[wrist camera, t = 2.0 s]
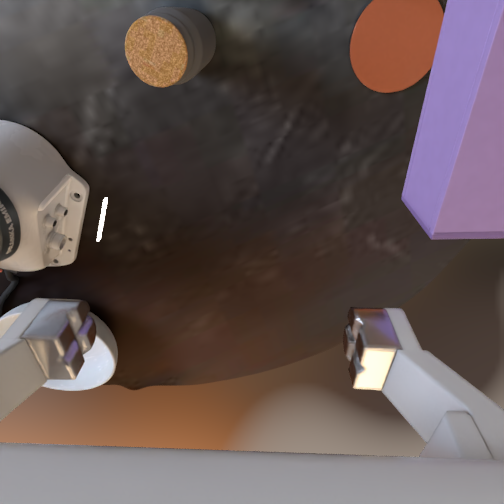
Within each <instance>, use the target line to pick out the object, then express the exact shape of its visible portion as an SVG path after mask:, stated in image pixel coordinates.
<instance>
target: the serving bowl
mask: <svg viewBox="0 0 504 504" xmlns="http://www.w3.org/2000/svg"><path fill="white" fill-rule="evenodd" d="M28 304H29V303H26V304H23V305H20V306H18V307H16V308H14V309H12V310H10V311H9V312H7V313H6V314H4V315H3V316H2V317H1V318H0V338H1V337H2V336H3V335H4V334H5V333H6V331H7V330H8V329H9V328H10V326H11V325H12V324H13V323H14V321H15V320H16V319H17V318H18V316H19V315H20V314H21V313H22V312H23V310H24V309H25V308H26V307H27V305H28ZM88 315H89V316H90V317H92V318H93V319H94V321H95V324H96V331H97V333H96V338H95V342H94V344H93V346H92V348H91V350H89V351H88V352H86V353H85V354H84V355H83V357H84V360H85V362H84V364H83V366H82V368H81V370H80V372H79V374H78V376H77V377H76V379H75V380H47V382H46V383H44V384H43V385H42V386H44V387H48V388H53V389H58V390H67V391H77V390H87V389H91V388H95V387H98V386H100V385H102V384H104V383H105V382H107V381H108V380H109V379H110V378H111V377H112V375H113V374H114V372H115V368H116V364H117V357H118V350H117V344H116V341H115V338H114V336H113V334H112V332H111V331H110V329H109V328H108V327H107V325H106V324H105V323H104V322H103V321H102V320H101V319H100V318H98V317H97V316H96V315H94V314H93V313H91V312H90V311H89V313H88Z"/></svg>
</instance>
